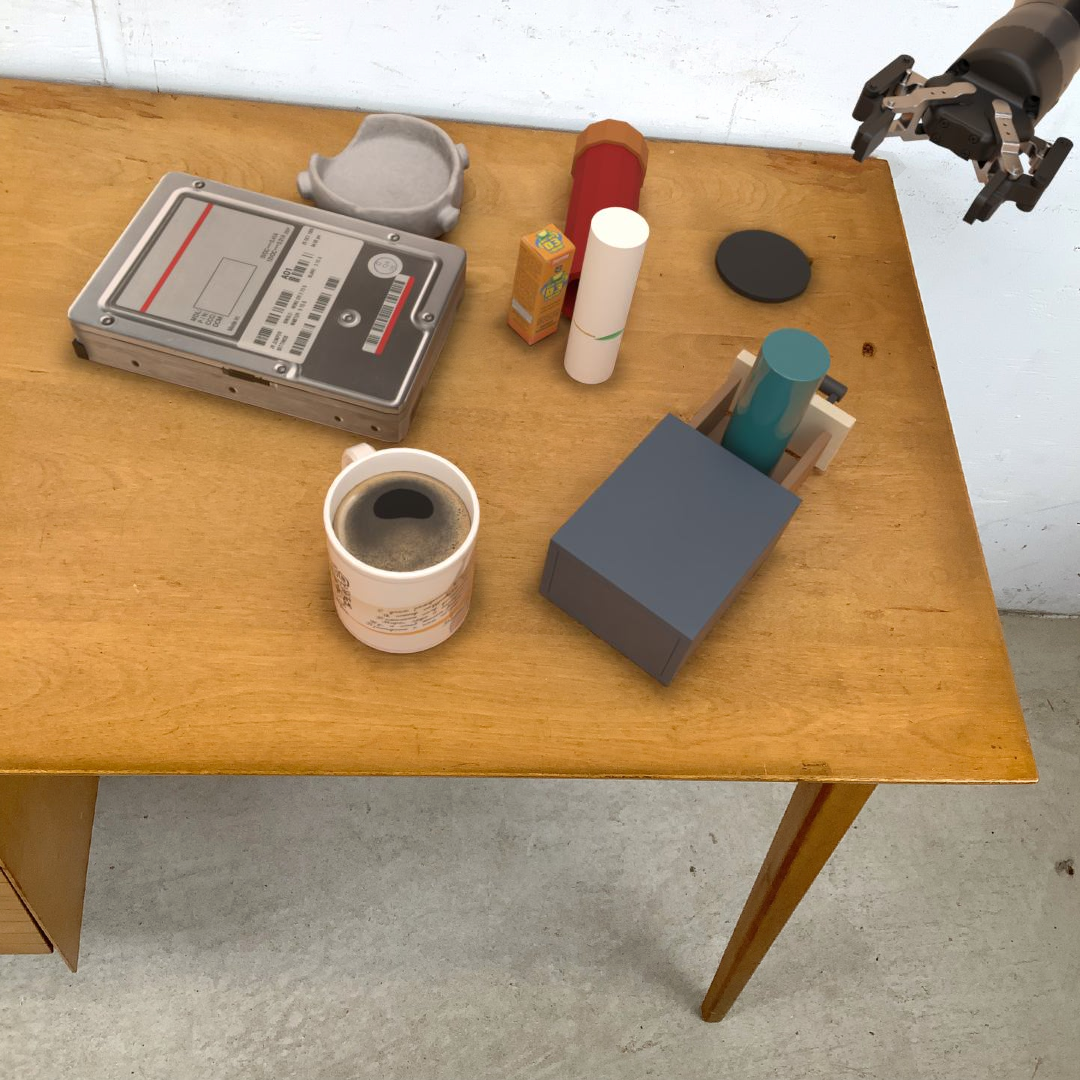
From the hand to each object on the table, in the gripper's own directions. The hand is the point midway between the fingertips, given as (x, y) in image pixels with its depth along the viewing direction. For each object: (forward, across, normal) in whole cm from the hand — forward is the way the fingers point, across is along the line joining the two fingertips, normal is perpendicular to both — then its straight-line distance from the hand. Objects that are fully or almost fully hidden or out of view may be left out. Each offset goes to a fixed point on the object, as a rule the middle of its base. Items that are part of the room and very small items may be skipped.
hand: (916, 180), depth 67 cm
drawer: (+10, 0, +22) cm, 24 cm away
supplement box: (+10, -22, +23) cm, 33 cm away
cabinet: (+23, 0, +23) cm, 32 cm away
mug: (+36, -14, +23) cm, 45 cm away
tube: (+10, -16, +23) cm, 30 cm away
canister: (+11, 0, +21) cm, 24 cm away
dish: (+7, -41, +23) cm, 47 cm away
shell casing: (-2, -24, +23) cm, 33 cm away
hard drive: (+24, -38, +23) cm, 50 cm away
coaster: (-11, -11, +23) cm, 28 cm away
